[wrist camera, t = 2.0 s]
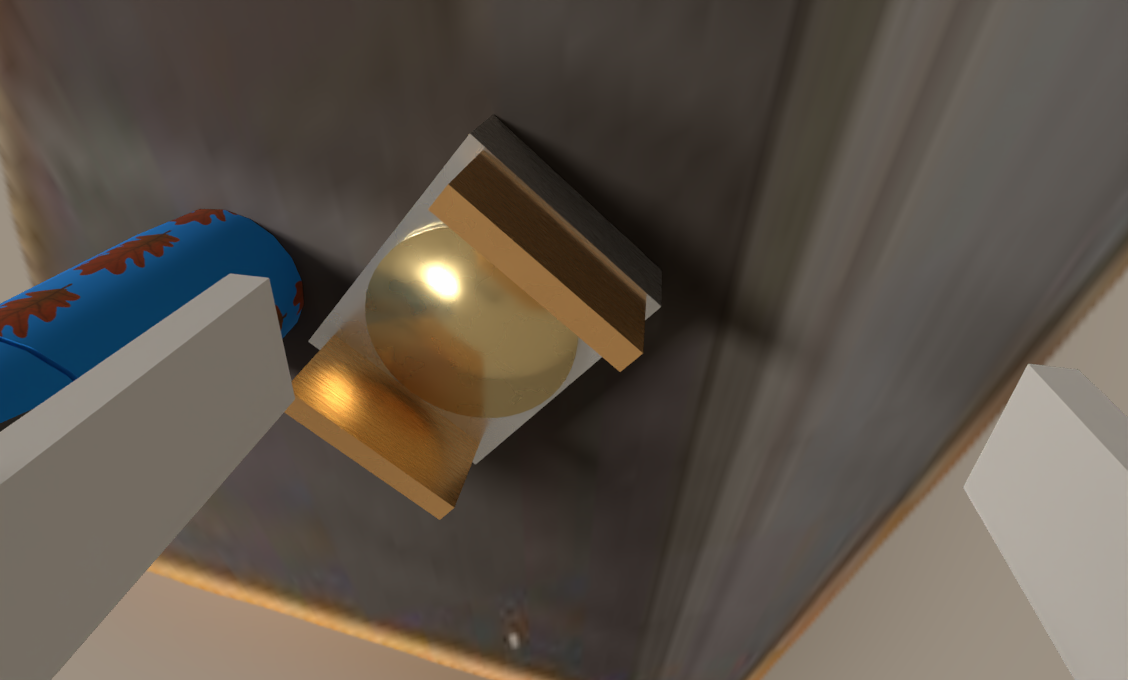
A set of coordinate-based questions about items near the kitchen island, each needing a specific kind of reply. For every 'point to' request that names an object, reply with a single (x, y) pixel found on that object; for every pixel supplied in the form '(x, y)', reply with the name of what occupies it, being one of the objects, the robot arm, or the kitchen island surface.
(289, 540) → the kitchen island surface
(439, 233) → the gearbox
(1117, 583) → the robot arm
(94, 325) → the thermos
